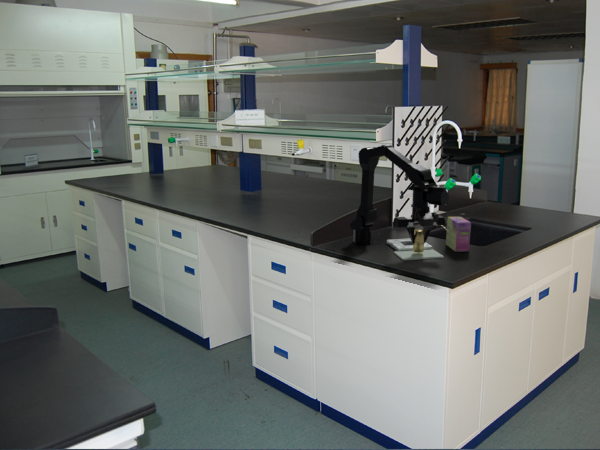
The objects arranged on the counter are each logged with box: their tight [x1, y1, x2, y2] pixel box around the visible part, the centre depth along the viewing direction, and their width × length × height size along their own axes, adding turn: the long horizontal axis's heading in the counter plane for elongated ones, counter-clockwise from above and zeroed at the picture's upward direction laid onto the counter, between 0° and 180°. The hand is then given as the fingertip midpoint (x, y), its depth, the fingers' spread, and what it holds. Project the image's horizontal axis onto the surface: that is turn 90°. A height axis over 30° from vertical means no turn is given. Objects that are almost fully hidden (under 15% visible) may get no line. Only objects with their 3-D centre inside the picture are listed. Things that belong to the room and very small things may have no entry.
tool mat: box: [393, 248, 444, 261], centre depth 198 cm, size 16×10×1 cm, turn 99°
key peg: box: [412, 229, 425, 253], centre depth 197 cm, size 4×4×8 cm
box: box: [445, 216, 472, 253], centre depth 206 cm, size 10×6×12 cm, turn 5°
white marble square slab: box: [386, 237, 433, 251], centre depth 210 cm, size 14×14×2 cm
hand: (418, 243), depth 197 cm, fingers open, 4 cm apart
